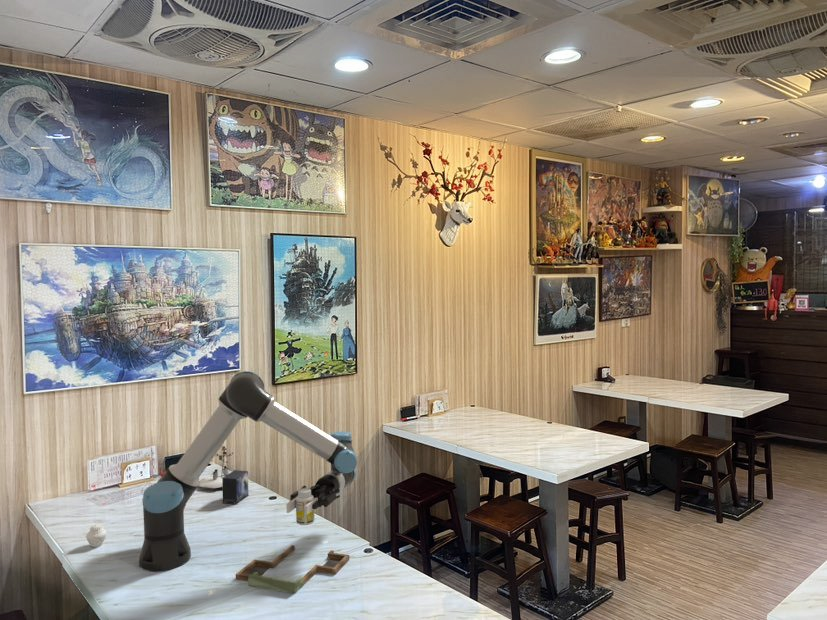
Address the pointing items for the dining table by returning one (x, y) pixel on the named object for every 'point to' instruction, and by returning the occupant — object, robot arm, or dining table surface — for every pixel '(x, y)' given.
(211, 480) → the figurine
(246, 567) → the lane
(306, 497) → the supplement bottle
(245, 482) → the small box
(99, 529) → the off-white rounded lump
